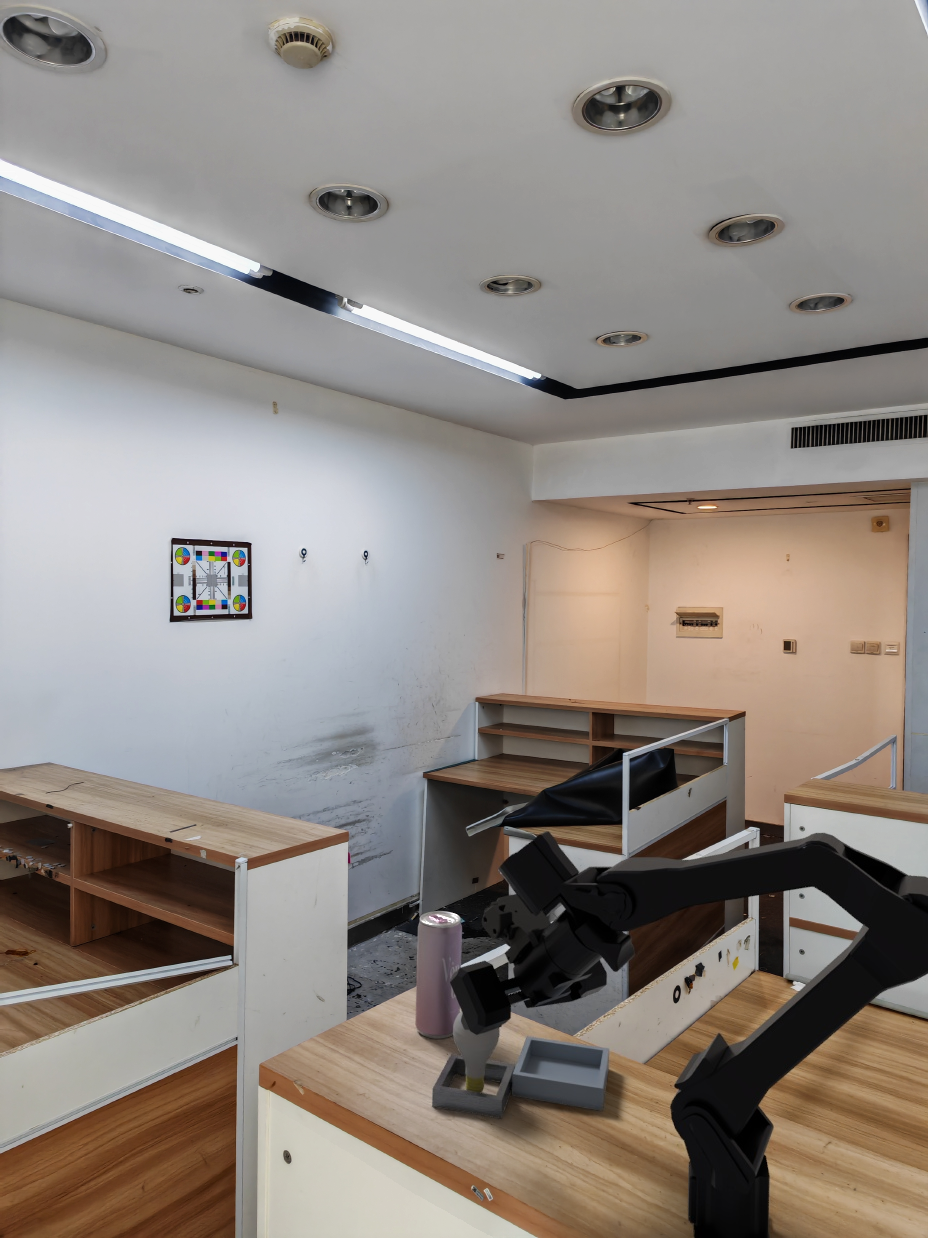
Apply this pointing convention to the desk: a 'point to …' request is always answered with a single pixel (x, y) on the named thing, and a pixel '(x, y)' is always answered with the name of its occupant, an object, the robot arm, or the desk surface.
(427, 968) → the beverage can
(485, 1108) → the frame
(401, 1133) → the desk surface
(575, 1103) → the parts tray
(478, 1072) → the light bulb
